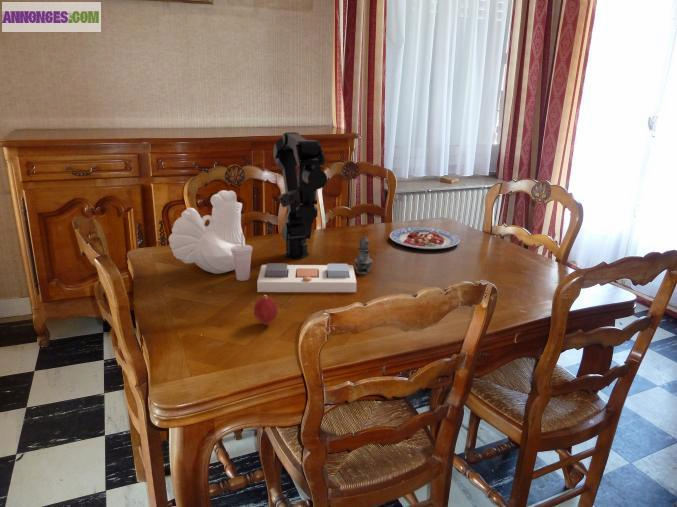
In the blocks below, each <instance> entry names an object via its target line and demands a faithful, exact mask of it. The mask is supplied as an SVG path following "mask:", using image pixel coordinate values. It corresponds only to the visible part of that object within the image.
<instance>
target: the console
mask: <svg viewBox="0 0 677 507" xmlns="http://www.w3.org/2000/svg"><path fill="white" fill-rule="evenodd" d="M327 265H328V264H287V278H276V277H266V274H265V270H266V266H267V264H262V265H261V266H260V270H259V274H258V278H257V281H256V282H257V283H256V285H257V286H256V287H257V290H256V291H257V293H357V279H356V278H357V277H356V274H355V273H356V272H355V269H354V265H351V264H350V265H349V264H348V269H349V278H328V275H327ZM297 268H317V270H318V278H311V277H308V276H306V277H303V278H297Z"/></svg>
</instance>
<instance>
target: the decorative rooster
mask: <svg viewBox="0 0 677 507" xmlns="http://www.w3.org/2000/svg"><path fill="white" fill-rule="evenodd" d="M210 203H211V205H212V209H211V215H209V214H206V215H204V216H201V215H200V213H199V212H198V211H197V210H196V208H194V207H187V208H186V209H185V210H184V211H182V212H181V216H179V217H178V218H177V219H176V220H175V221H174V223H173V226H172V228H171V232H172V233H171V234H170V235H169V236H168V242H169V247H170V248H171V252H172V254H173V256H174V257H175V258H176V259H177V260H180V261H182V262H183V263H184V264H192V263H193V264H194V263H195V264H196V266H198V267H199V268H200V269H202V270H203V271H206V272H208V273H211V274H214V275H215V274H219V275H220V274H223V273H228V272H231V271H235V266H234V260H233V255H232V252H231V247H233V246H236V245H242V242H241V233H243V245H246V238H245V236H244V232H243V229H242V213H241V212H242V209H243V203H242V202H239V201H238V200H237V193H236V192H235V191H234V190H224V189H223V190H220V191H218V192H217V193H214V194H213V195H212V196H211V197H210ZM207 220H208V221H209V224H208V225H206V221H207Z"/></svg>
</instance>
